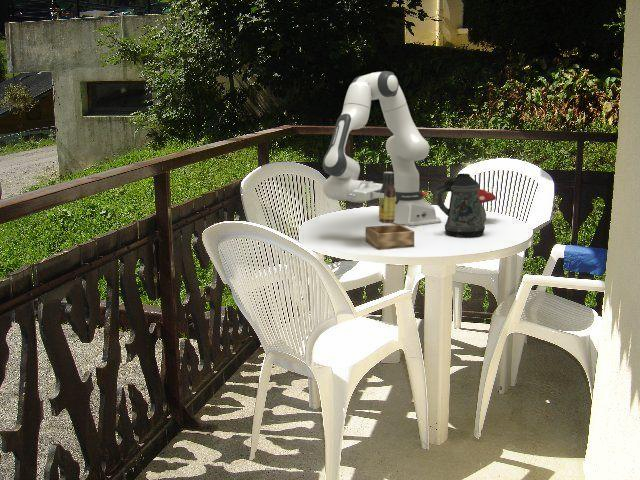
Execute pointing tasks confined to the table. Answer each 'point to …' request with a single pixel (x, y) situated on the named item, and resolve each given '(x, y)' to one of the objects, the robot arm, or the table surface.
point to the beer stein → (462, 207)
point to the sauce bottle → (387, 199)
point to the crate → (389, 236)
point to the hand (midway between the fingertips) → (389, 194)
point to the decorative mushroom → (484, 197)
